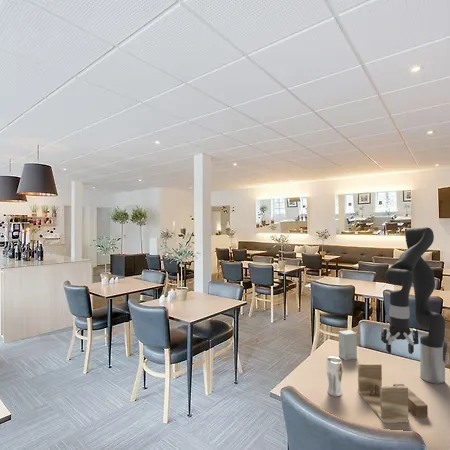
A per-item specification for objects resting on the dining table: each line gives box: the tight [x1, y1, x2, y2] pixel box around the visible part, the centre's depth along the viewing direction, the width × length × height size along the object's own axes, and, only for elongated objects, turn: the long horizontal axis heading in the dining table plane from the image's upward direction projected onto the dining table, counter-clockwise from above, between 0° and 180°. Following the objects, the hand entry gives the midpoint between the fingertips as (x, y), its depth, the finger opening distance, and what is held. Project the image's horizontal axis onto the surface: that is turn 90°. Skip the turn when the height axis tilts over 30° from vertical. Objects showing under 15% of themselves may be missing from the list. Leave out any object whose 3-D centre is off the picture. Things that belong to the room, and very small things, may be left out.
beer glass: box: [326, 356, 344, 397], centre depth 137 cm, size 7×7×15 cm
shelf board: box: [392, 383, 429, 418], centre depth 127 cm, size 16×4×5 cm, turn 1°
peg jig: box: [357, 362, 410, 424], centre depth 127 cm, size 22×10×13 cm, turn 0°
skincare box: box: [338, 329, 358, 361], centre depth 173 cm, size 8×6×15 cm
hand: (399, 352), depth 130 cm, fingers open, 8 cm apart
